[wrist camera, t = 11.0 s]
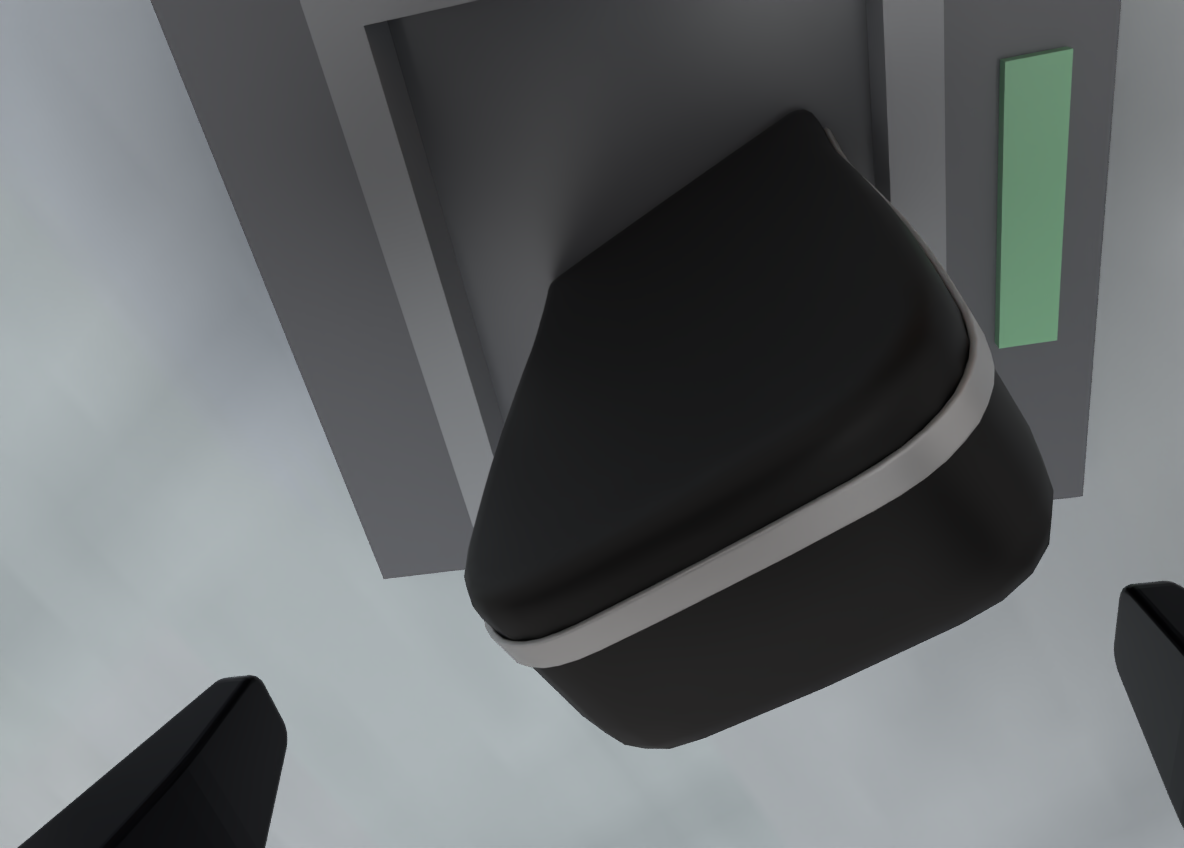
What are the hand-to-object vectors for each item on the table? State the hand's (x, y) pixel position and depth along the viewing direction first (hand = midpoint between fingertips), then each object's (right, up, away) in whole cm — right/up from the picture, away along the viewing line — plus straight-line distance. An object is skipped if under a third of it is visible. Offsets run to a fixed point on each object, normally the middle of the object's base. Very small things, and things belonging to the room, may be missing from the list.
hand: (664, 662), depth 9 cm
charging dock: (+1, +6, +11) cm, 13 cm away
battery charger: (+2, +6, +10) cm, 12 cm away
